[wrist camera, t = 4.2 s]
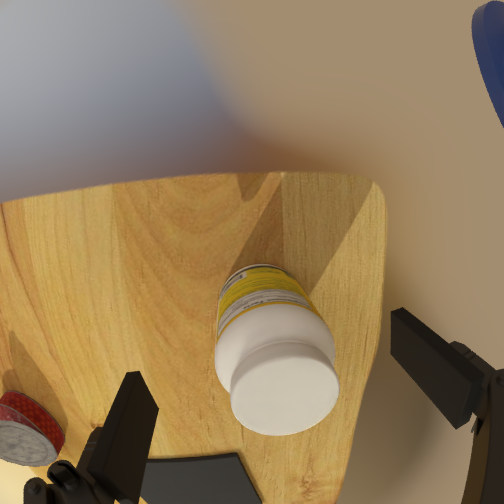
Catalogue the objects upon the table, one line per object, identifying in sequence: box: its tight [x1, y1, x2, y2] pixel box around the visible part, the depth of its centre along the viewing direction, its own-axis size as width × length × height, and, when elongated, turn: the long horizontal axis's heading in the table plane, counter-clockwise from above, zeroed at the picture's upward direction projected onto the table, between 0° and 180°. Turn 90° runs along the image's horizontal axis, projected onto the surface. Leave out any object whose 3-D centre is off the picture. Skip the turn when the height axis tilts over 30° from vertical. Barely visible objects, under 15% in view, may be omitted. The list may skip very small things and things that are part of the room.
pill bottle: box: [215, 264, 340, 436], centre depth 16 cm, size 6×6×11 cm
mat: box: [140, 453, 262, 504], centre depth 27 cm, size 16×14×1 cm
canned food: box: [0, 391, 65, 467], centre depth 21 cm, size 11×10×10 cm
